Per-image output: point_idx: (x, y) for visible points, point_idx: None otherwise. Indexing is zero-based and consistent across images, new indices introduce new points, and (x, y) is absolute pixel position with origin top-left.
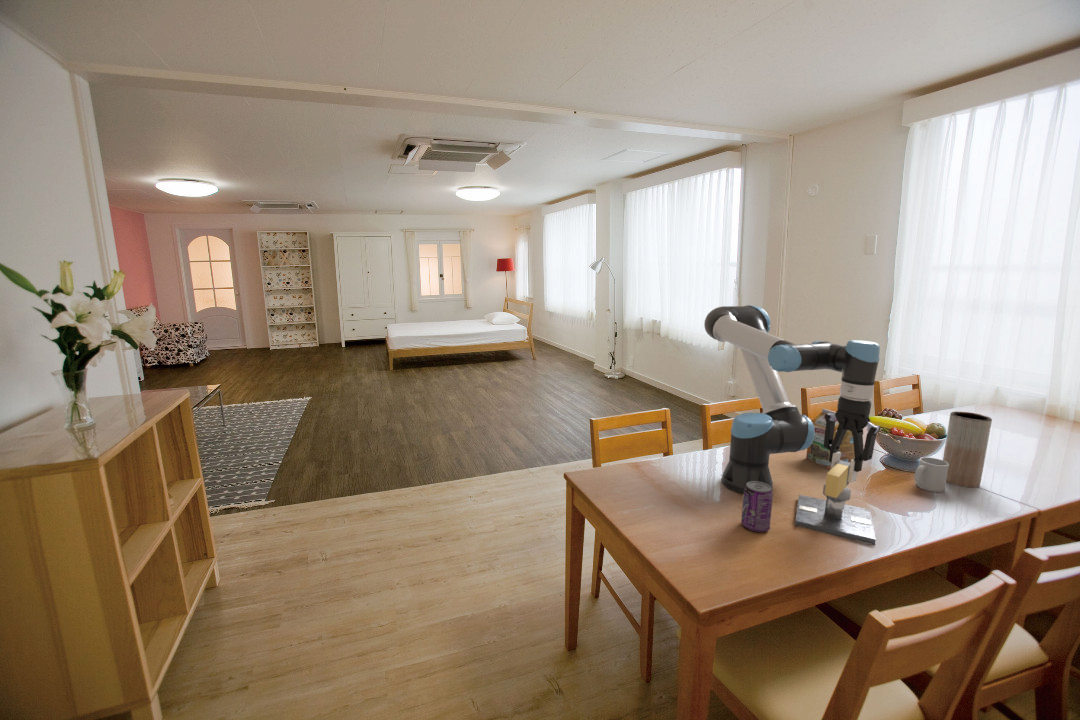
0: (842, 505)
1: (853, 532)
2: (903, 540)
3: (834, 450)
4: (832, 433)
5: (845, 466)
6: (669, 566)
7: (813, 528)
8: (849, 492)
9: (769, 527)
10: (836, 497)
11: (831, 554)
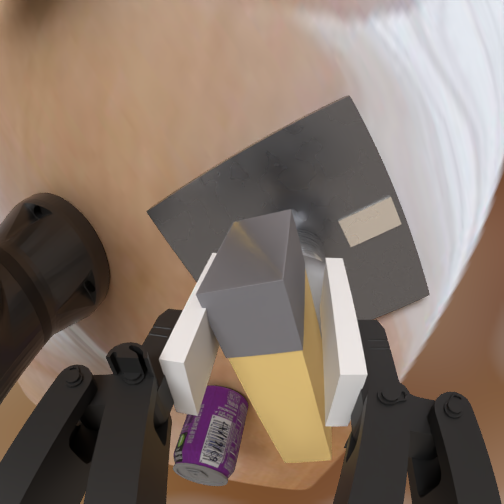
0: None
1: (379, 306)
2: (469, 197)
3: (170, 424)
4: (46, 497)
5: (291, 367)
6: (244, 479)
7: None
8: None
9: (245, 402)
10: None
11: None
